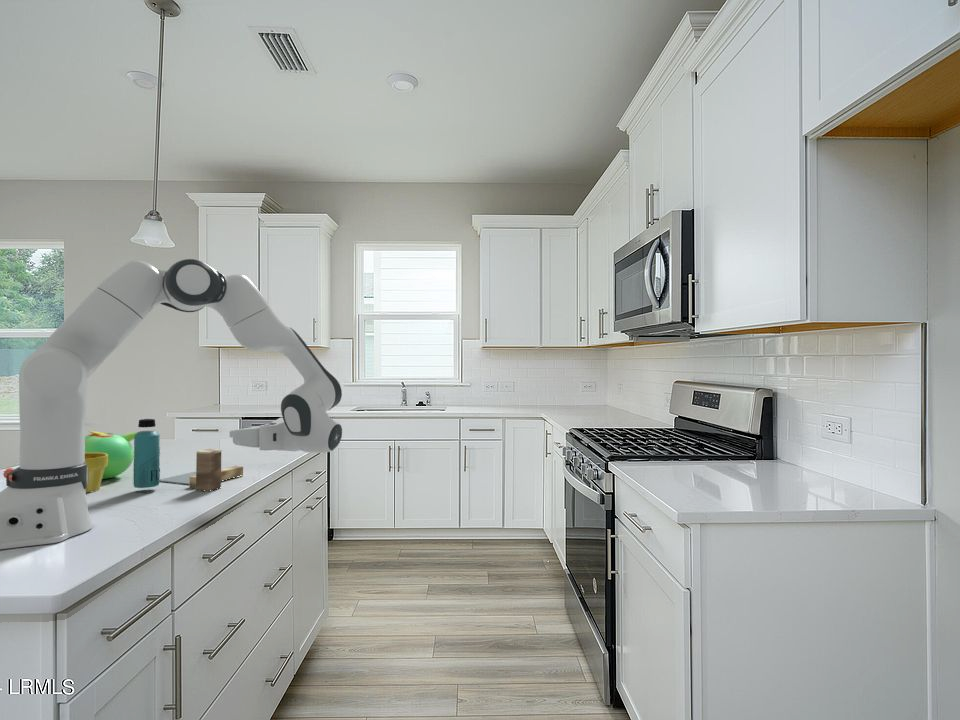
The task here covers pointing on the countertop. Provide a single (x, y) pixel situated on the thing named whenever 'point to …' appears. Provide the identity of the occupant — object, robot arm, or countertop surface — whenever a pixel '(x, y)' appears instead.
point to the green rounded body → (112, 451)
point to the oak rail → (222, 474)
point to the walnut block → (208, 469)
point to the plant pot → (95, 469)
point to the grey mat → (179, 478)
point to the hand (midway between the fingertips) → (244, 431)
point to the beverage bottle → (146, 456)
